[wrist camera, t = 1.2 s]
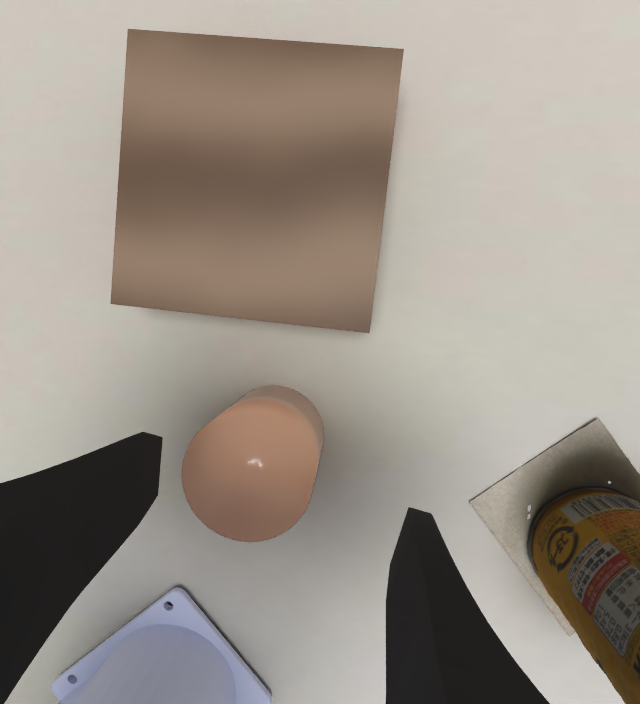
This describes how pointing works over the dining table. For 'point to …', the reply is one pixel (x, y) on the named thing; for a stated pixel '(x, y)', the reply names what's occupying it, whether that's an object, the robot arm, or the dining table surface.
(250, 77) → the walnut block
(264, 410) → the terracotta cylinder
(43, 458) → the dining table surface
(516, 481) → the condiment
